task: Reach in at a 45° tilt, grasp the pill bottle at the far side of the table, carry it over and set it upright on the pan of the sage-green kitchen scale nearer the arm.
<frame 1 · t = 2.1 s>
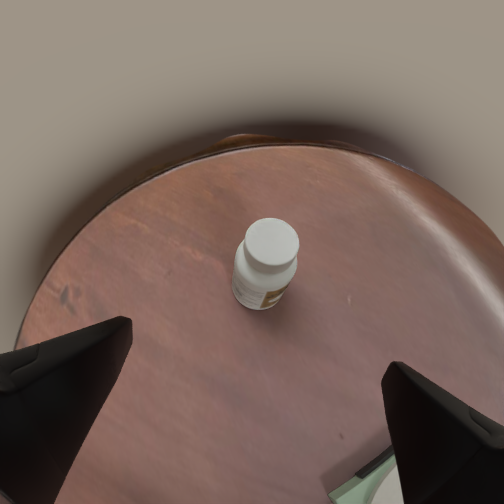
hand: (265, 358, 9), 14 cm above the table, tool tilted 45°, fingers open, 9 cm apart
scale: (406, 493, 16), on the table
pill bottle: (257, 287, 25), on the table
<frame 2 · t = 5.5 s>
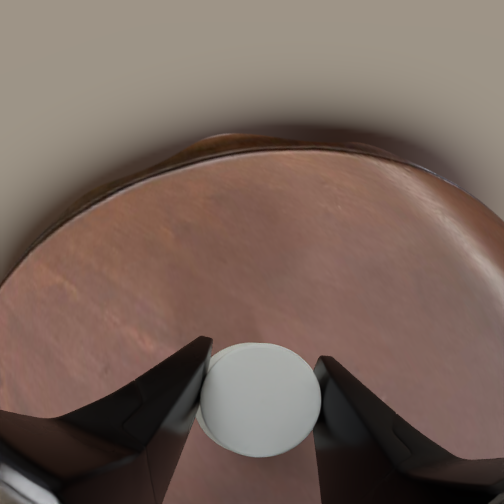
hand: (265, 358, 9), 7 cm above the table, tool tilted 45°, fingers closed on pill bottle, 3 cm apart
pill bottle: (242, 397, 14), on the table, touching gripper
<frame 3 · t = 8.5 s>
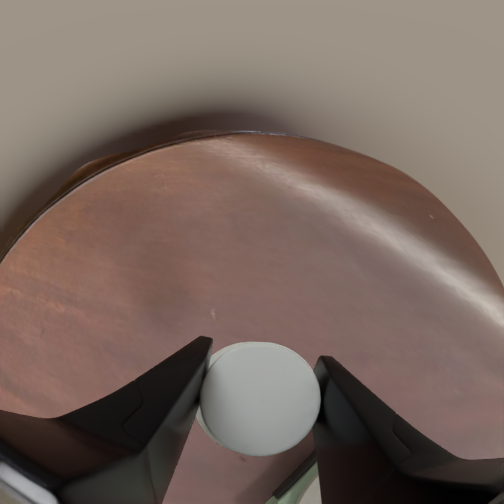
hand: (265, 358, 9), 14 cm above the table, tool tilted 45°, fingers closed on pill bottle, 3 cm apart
scale: (350, 498, 16), on the table
pill bottle: (242, 396, 14), point 7 cm above the table, touching gripper
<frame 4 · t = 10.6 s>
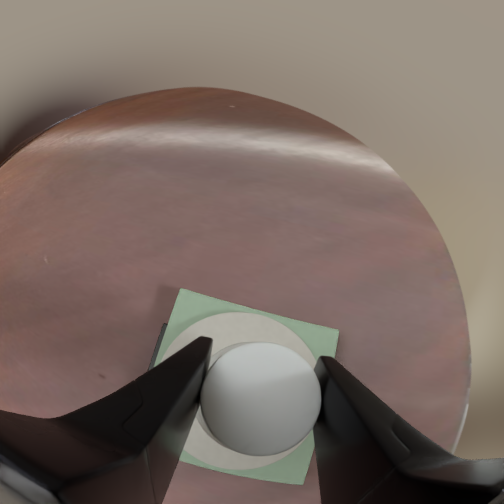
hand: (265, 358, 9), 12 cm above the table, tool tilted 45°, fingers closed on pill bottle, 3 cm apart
scale: (237, 392, 19), on the table
pill bottle: (242, 396, 14), point 6 cm above the table, touching gripper
when the fingers open (9 cm above the table, at t = 11.9 s): pill bottle stays where it is, resting on scale.
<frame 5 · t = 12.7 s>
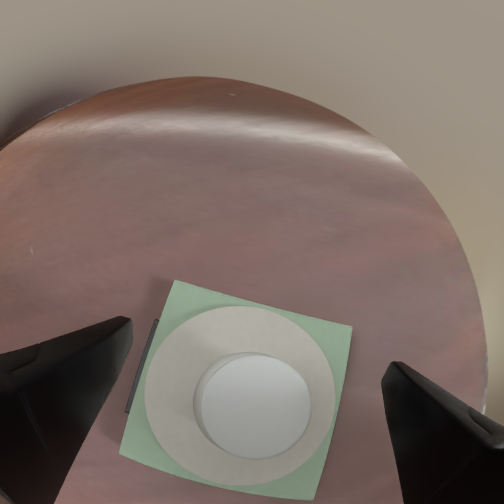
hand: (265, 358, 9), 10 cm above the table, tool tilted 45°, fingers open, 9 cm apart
scale: (239, 397, 17), on the table
pill bottle: (240, 401, 15), point 2 cm above the table, touching scale
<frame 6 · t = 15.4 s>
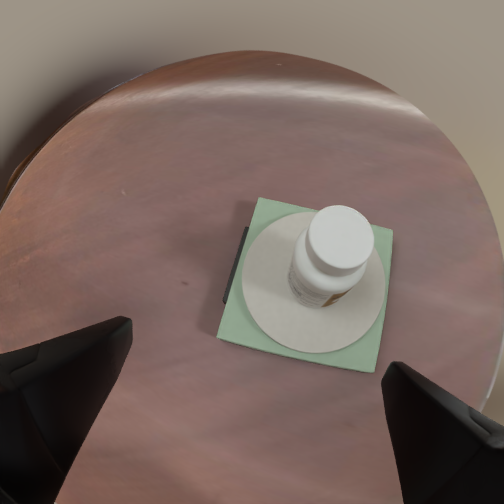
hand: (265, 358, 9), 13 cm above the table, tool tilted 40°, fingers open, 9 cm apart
scale: (311, 286, 23), on the table
pill bottle: (316, 280, 21), point 2 cm above the table, touching scale
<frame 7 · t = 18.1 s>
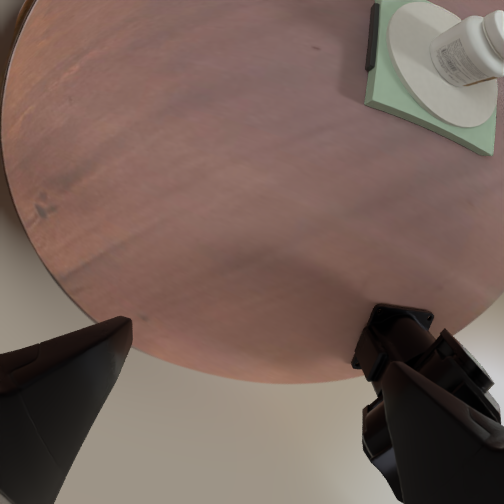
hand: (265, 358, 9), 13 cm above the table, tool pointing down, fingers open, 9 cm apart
scale: (435, 67, 16), on the table
pill bottle: (449, 62, 14), point 2 cm above the table, touching scale
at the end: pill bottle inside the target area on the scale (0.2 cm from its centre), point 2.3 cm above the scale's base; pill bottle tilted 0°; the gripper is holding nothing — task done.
